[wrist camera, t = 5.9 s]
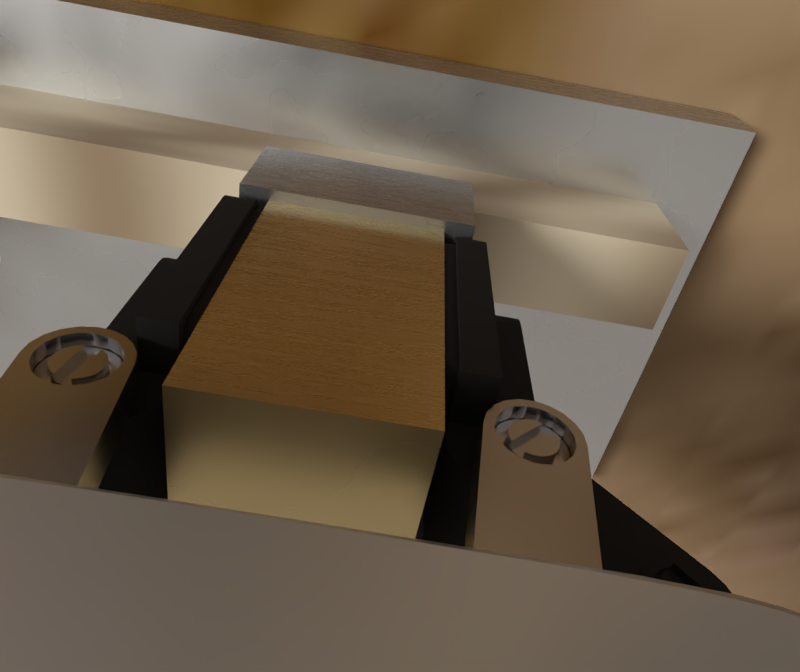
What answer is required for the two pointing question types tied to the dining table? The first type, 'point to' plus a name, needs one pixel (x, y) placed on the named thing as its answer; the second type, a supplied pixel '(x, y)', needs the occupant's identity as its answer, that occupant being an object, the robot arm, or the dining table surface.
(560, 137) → the bolt plate
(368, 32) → the dining table surface
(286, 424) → the block
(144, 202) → the sliding bolt bar
